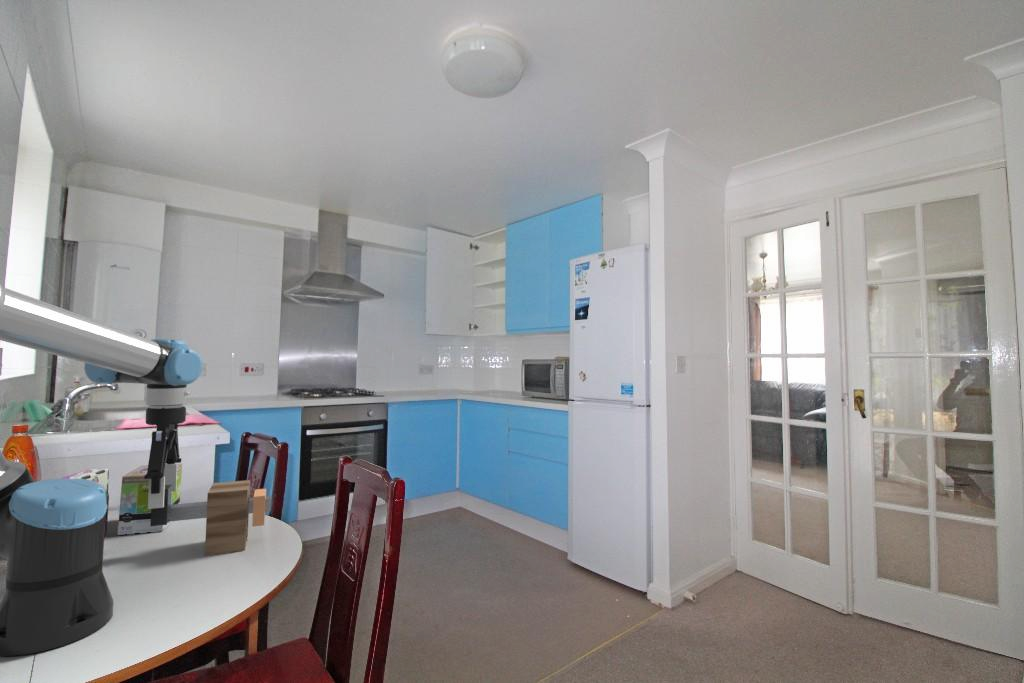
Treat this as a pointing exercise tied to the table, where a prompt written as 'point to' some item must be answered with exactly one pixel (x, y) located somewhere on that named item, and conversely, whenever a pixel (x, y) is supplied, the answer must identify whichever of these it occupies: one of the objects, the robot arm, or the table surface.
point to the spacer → (259, 507)
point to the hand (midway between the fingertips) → (163, 499)
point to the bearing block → (227, 517)
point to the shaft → (188, 509)
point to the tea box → (140, 502)
